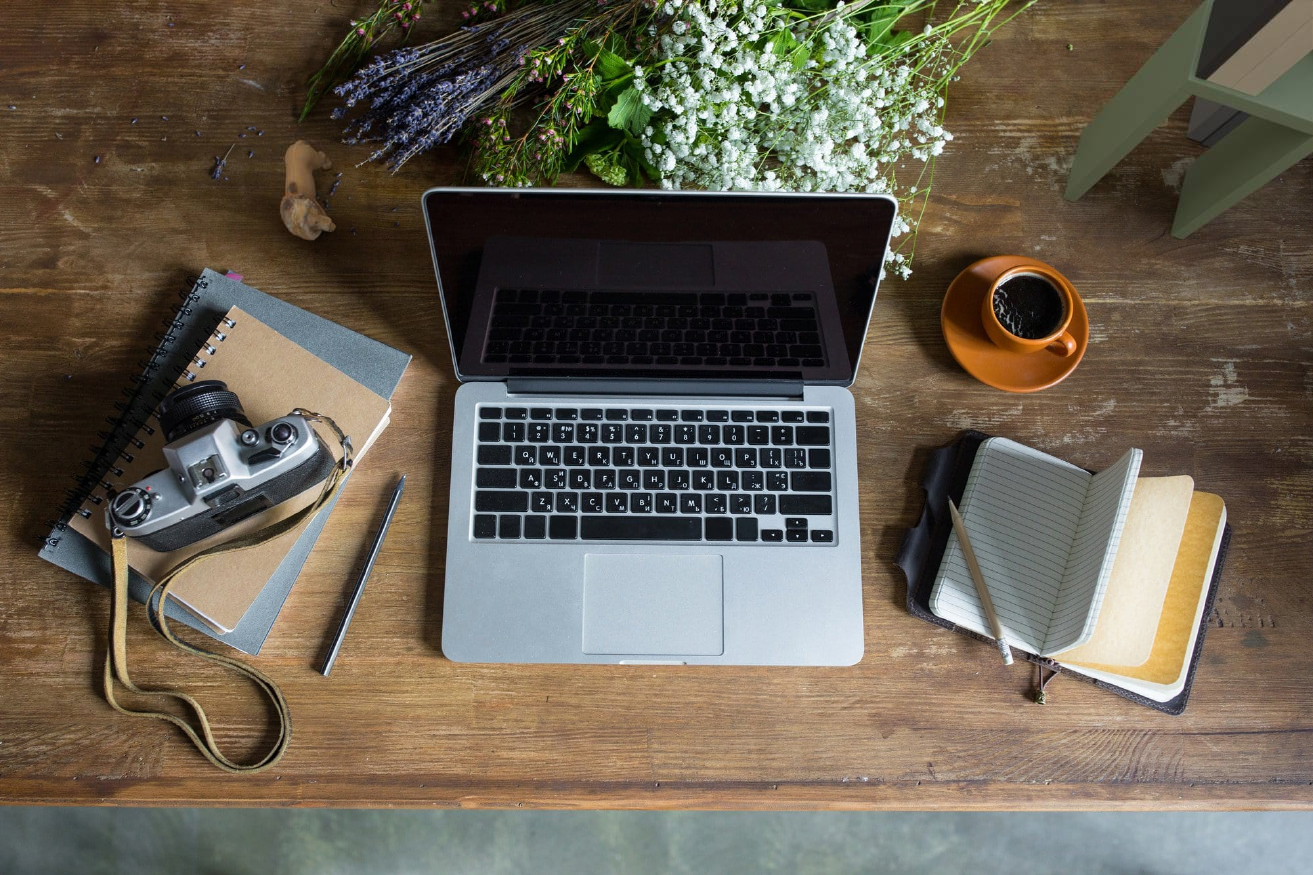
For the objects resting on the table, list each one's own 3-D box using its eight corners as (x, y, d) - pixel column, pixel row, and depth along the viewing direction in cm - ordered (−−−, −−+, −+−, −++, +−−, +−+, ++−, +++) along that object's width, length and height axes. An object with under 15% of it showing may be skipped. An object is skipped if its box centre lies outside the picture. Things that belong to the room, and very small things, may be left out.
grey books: (1230, 90, 100) (1310, 21, 88) (1216, 150, 98) (1296, 87, 86) (1199, 80, 100) (1275, 10, 88) (1185, 139, 98) (1260, 75, 87)
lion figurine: (354, 257, 91) (324, 219, 82) (307, 268, 91) (273, 231, 82) (329, 146, 94) (298, 98, 85) (284, 156, 94) (249, 109, 85)
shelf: (1198, 170, 97) (1360, 45, 76) (1182, 240, 95) (1343, 132, 74) (1082, 130, 98) (1209, -5, 77) (1062, 198, 96) (1188, 79, 74)
